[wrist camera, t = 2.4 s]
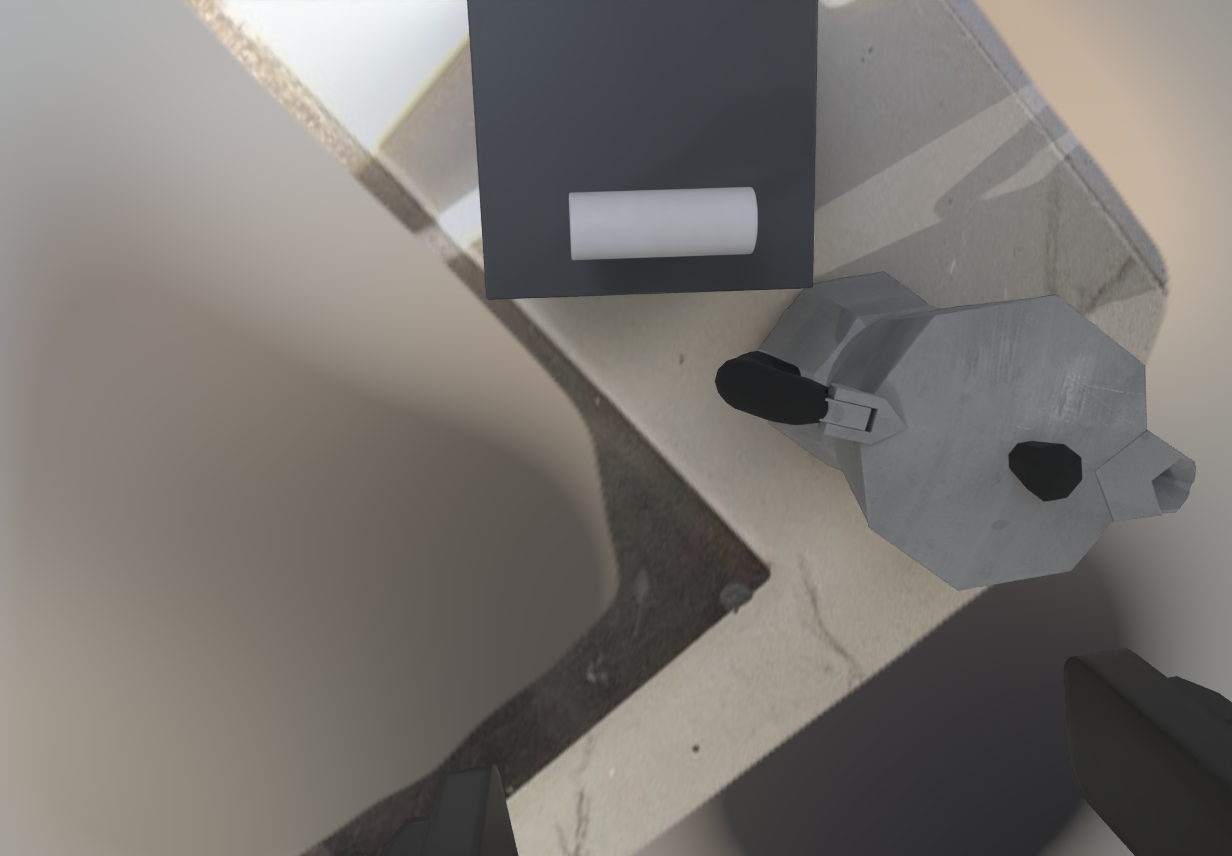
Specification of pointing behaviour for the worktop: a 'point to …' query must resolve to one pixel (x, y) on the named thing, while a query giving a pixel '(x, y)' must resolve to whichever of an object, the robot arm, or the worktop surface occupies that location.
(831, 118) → the worktop surface
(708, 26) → the grey box lid
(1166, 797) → the robot arm
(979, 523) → the coffeepot
